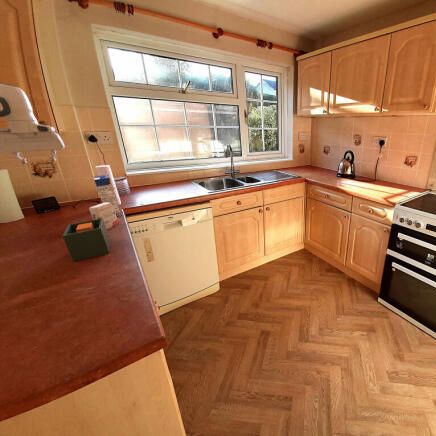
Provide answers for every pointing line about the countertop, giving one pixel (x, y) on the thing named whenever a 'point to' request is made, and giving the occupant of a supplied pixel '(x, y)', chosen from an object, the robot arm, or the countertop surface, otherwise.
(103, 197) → the beverage box
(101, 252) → the dark green open box
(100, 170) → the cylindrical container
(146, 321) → the countertop surface
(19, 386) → the countertop surface
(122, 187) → the can
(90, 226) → the block
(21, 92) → the robot arm
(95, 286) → the countertop surface
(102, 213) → the ink box
